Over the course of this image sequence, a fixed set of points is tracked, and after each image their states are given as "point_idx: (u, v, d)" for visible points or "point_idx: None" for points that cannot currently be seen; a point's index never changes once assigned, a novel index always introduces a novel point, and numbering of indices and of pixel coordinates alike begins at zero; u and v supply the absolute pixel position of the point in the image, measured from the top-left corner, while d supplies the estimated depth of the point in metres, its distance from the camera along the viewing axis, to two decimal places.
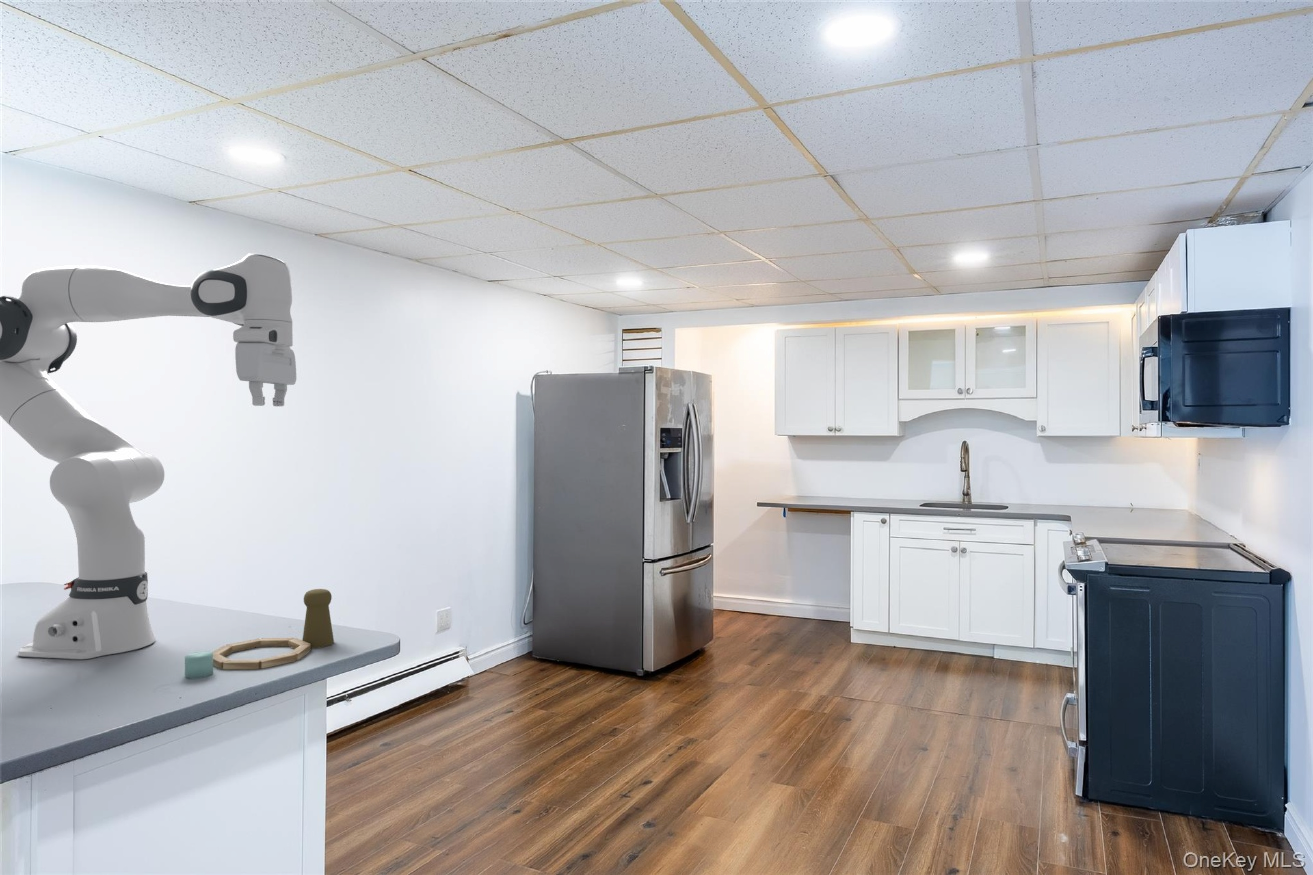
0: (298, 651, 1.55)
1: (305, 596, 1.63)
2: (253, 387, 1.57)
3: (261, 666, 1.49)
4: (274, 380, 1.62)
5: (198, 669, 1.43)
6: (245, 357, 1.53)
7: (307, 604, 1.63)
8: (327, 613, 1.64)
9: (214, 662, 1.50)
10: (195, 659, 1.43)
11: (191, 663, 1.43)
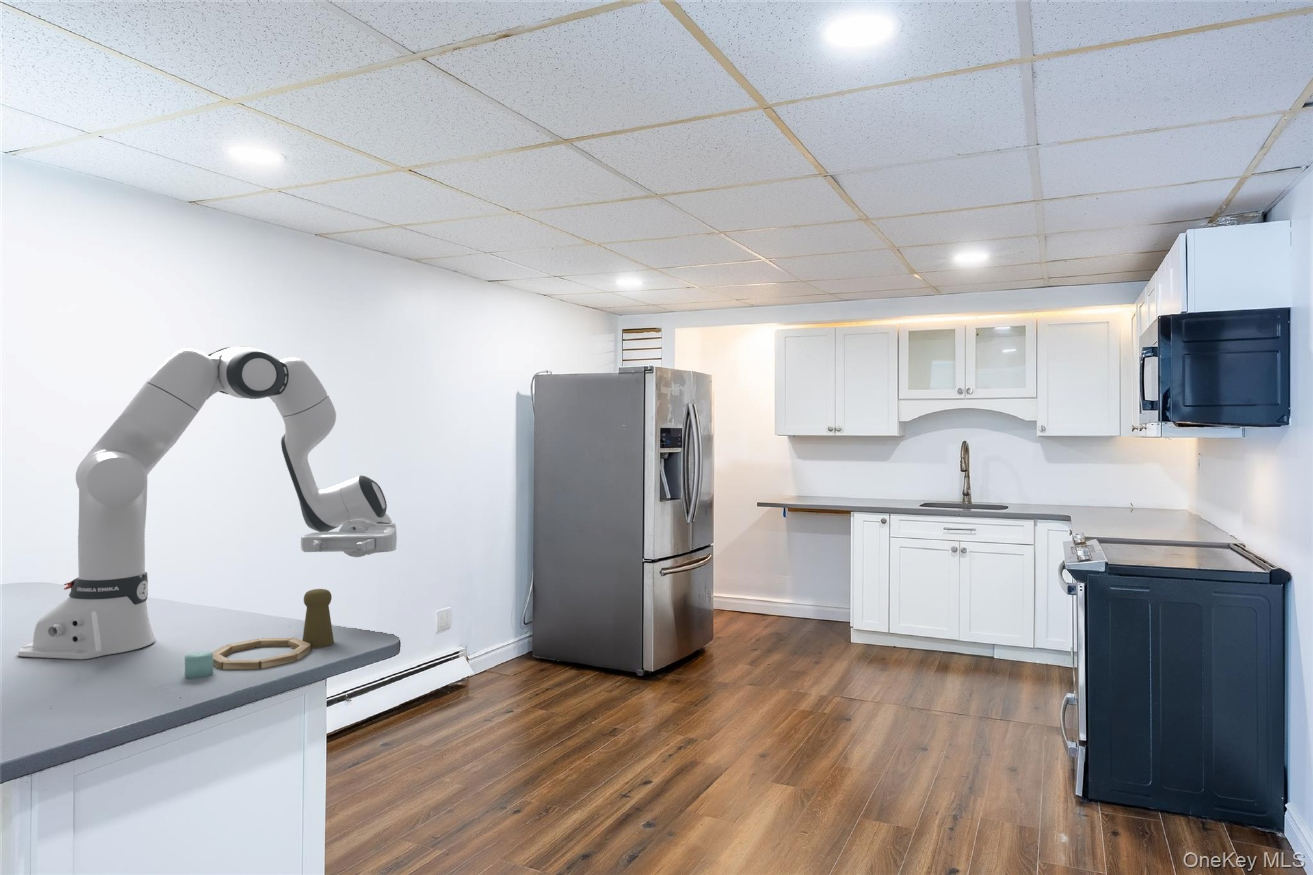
0: (298, 651, 1.55)
1: (305, 596, 1.63)
2: (373, 543, 1.80)
3: (261, 666, 1.49)
4: (353, 551, 1.82)
5: (198, 669, 1.43)
6: (395, 538, 1.86)
7: (307, 604, 1.63)
8: (327, 613, 1.64)
9: (214, 662, 1.50)
10: (195, 659, 1.43)
11: (191, 663, 1.43)
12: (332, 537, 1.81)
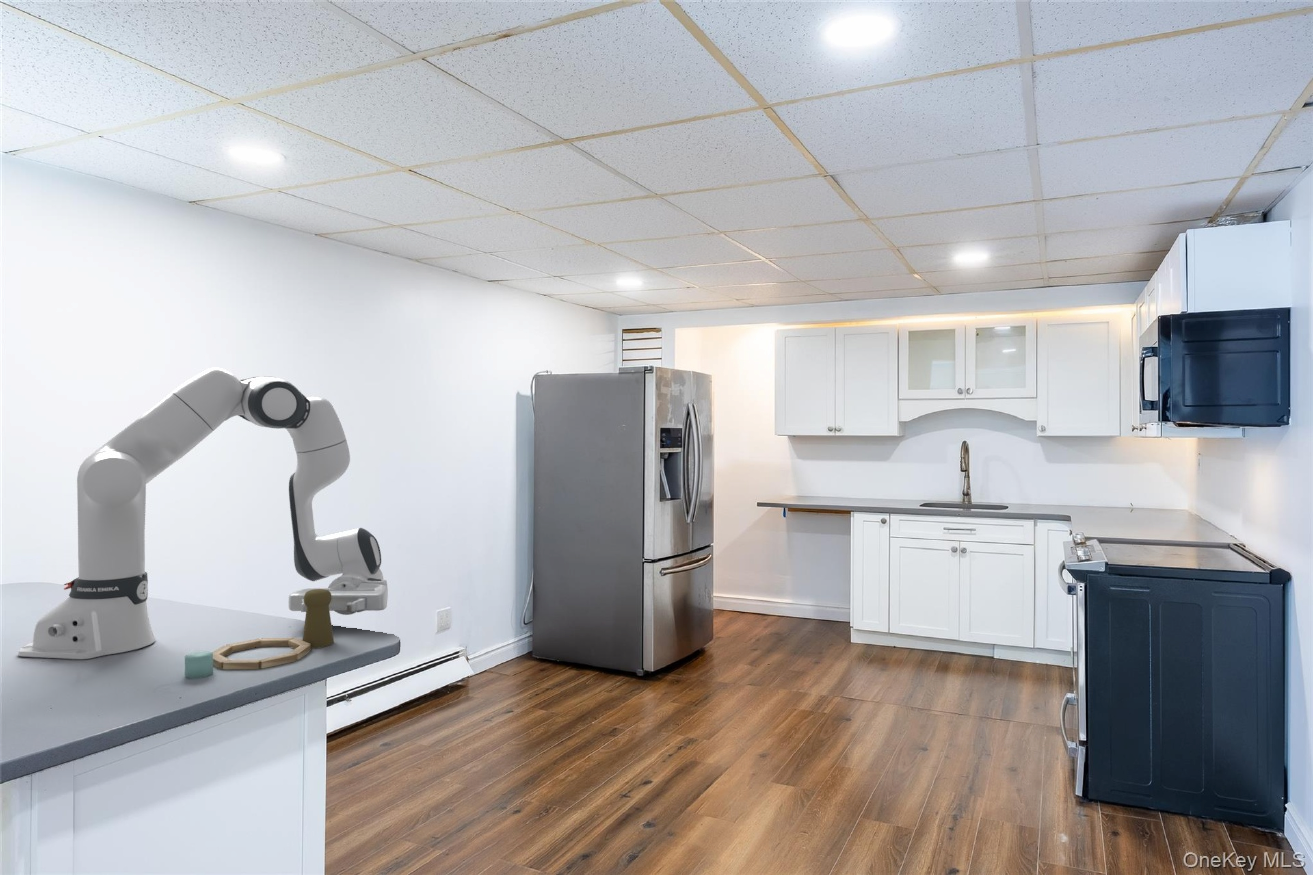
0: (298, 651, 1.55)
1: (305, 596, 1.63)
2: (363, 603, 1.75)
3: (261, 666, 1.49)
4: (342, 610, 1.76)
5: (198, 669, 1.43)
6: (386, 597, 1.80)
7: (307, 604, 1.63)
8: (327, 613, 1.64)
9: (214, 662, 1.50)
10: (195, 659, 1.43)
11: (192, 663, 1.43)
12: None
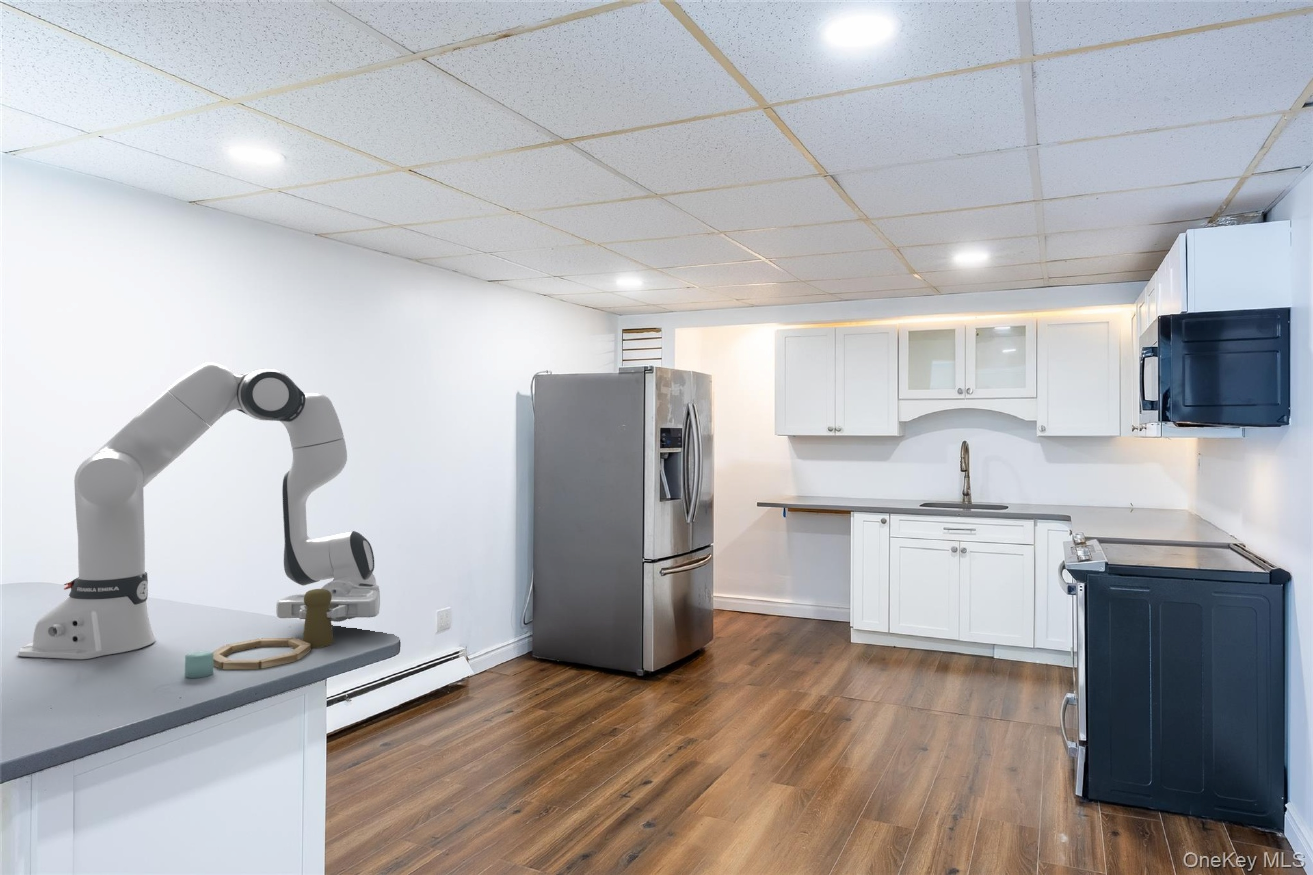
0: (298, 651, 1.55)
1: (305, 596, 1.63)
2: (344, 609, 1.68)
3: (261, 666, 1.49)
4: None
5: (199, 668, 1.43)
6: (378, 603, 1.73)
7: (307, 604, 1.63)
8: None
9: (214, 662, 1.50)
10: (197, 658, 1.43)
11: (193, 662, 1.43)
12: None
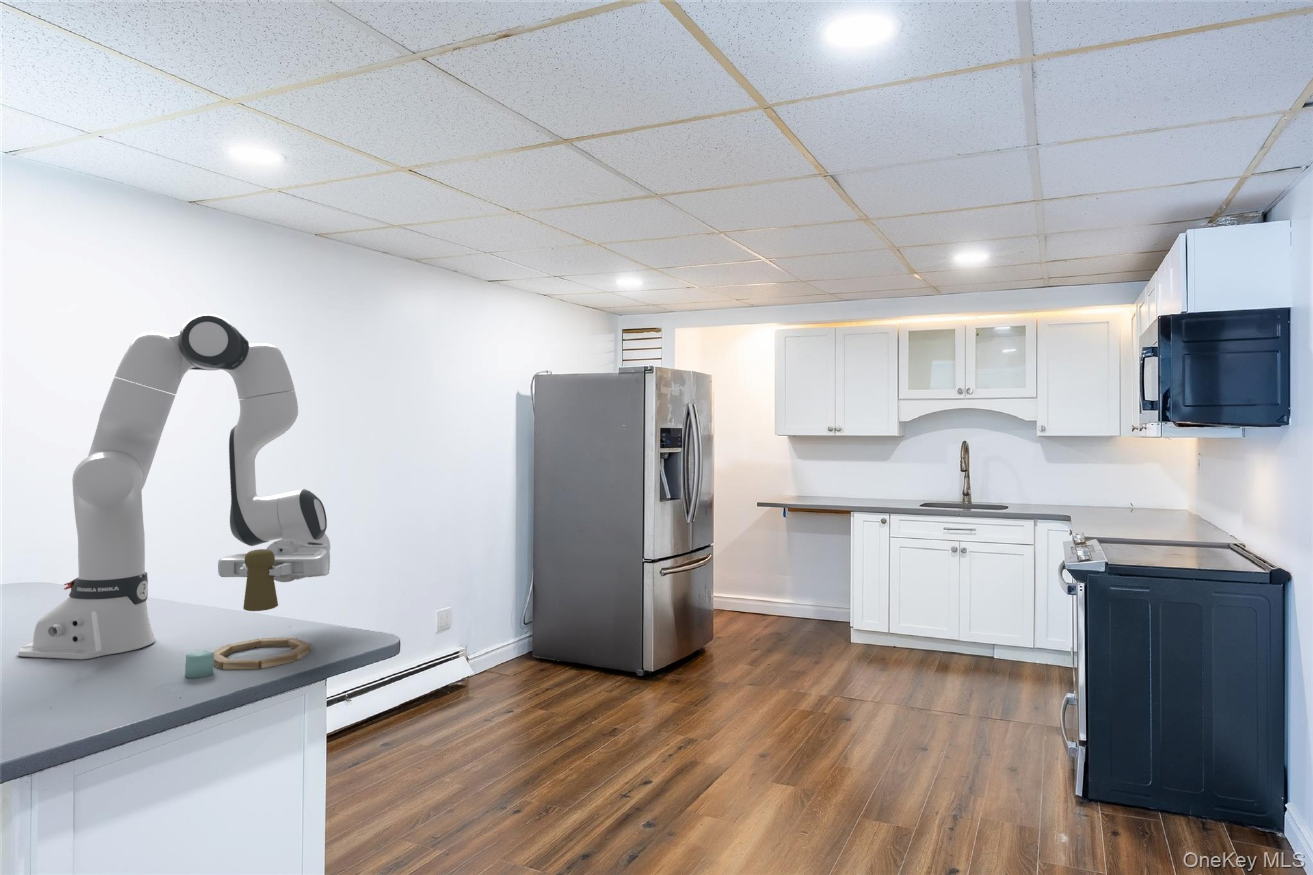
0: (298, 651, 1.55)
1: (245, 557, 1.54)
2: (289, 567, 1.59)
3: (261, 666, 1.49)
4: None
5: (203, 668, 1.44)
6: (327, 562, 1.65)
7: (247, 565, 1.54)
8: None
9: (214, 662, 1.50)
10: (200, 658, 1.43)
11: (196, 663, 1.43)
12: None
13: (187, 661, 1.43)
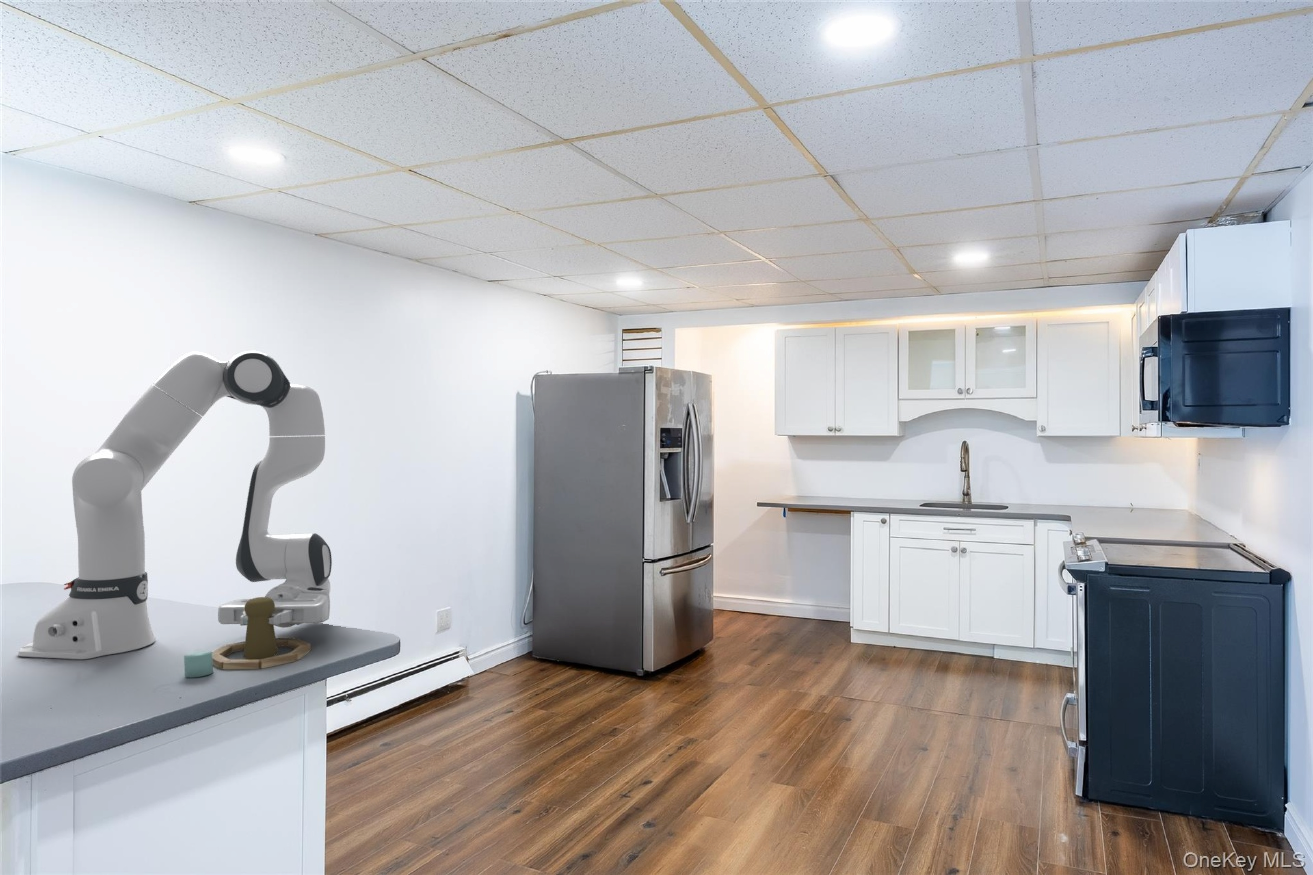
0: (298, 651, 1.55)
1: (246, 605, 1.55)
2: (289, 615, 1.59)
3: (261, 666, 1.49)
4: None
5: (205, 666, 1.44)
6: (327, 608, 1.65)
7: (247, 614, 1.54)
8: None
9: (214, 662, 1.50)
10: (202, 656, 1.44)
11: (198, 661, 1.43)
12: None
13: (188, 661, 1.43)
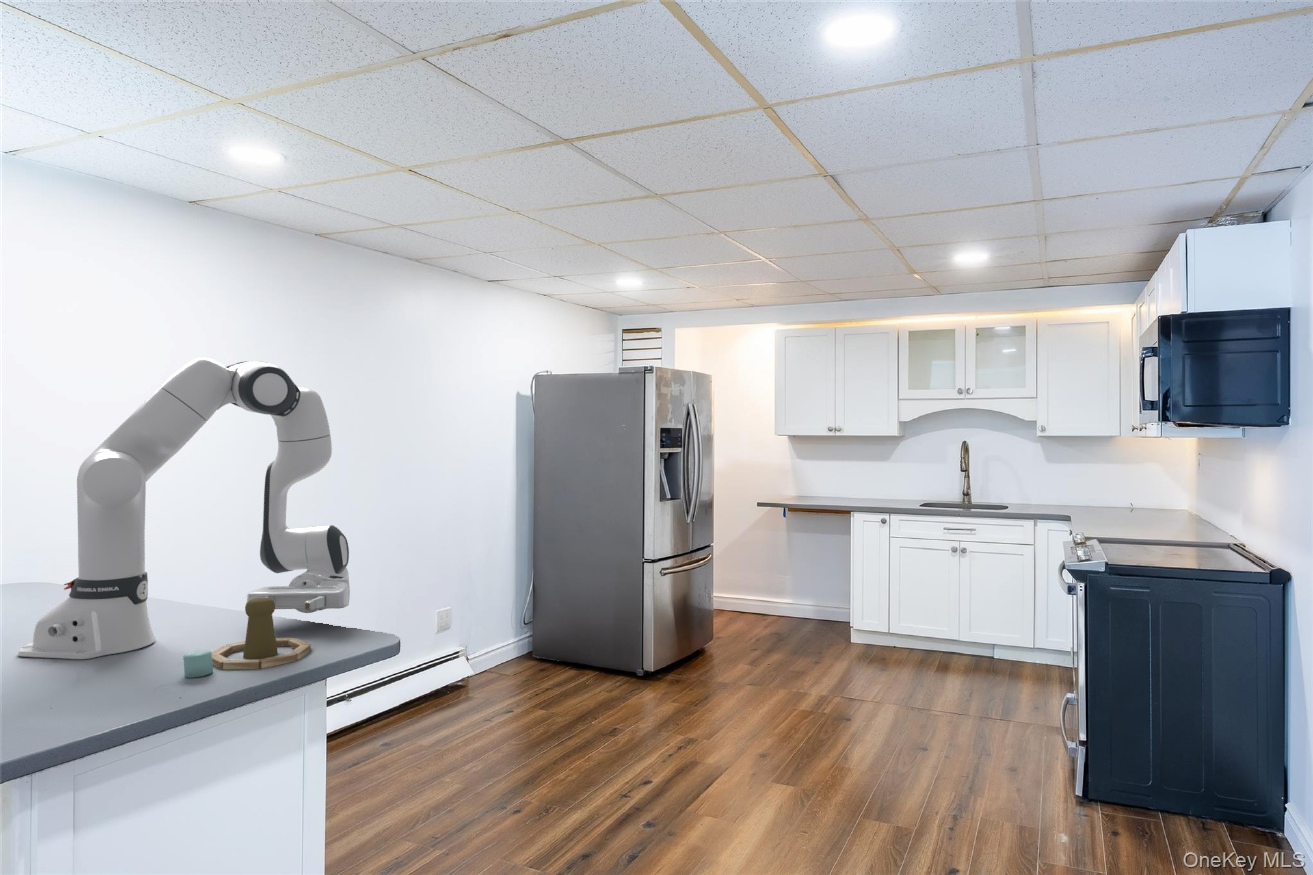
0: (298, 651, 1.55)
1: (246, 605, 1.55)
2: (323, 601, 1.72)
3: (261, 666, 1.49)
4: (302, 608, 1.73)
5: (209, 664, 1.45)
6: (347, 595, 1.77)
7: (248, 613, 1.55)
8: (270, 623, 1.56)
9: (214, 662, 1.50)
10: (207, 655, 1.45)
11: (204, 660, 1.44)
12: (280, 594, 1.73)
13: (192, 661, 1.43)
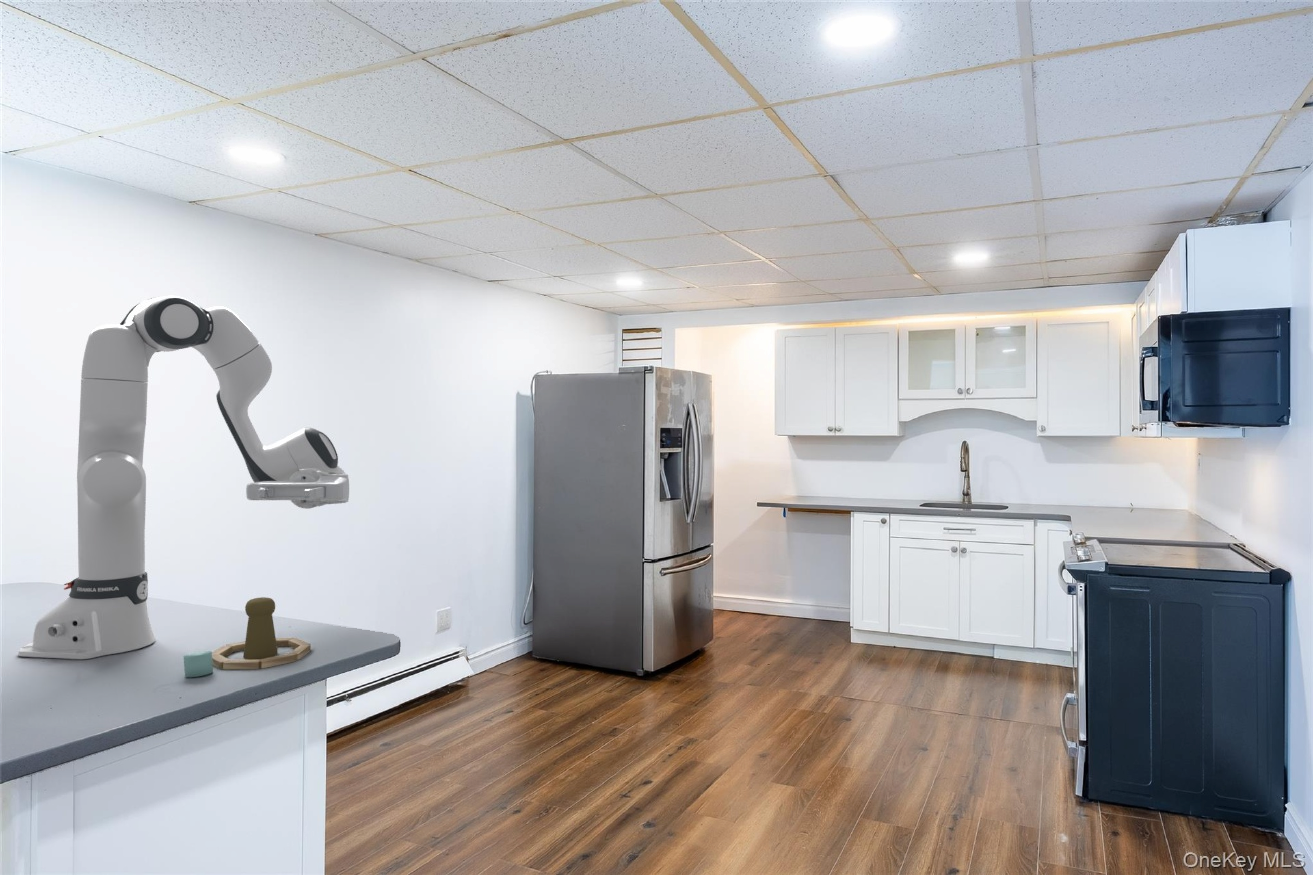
0: (298, 651, 1.55)
1: (246, 605, 1.55)
2: (322, 491, 1.72)
3: (261, 666, 1.49)
4: (301, 499, 1.73)
5: (212, 662, 1.46)
6: (347, 488, 1.77)
7: (248, 613, 1.55)
8: (270, 623, 1.56)
9: (214, 662, 1.50)
10: (211, 653, 1.46)
11: (210, 657, 1.45)
12: (279, 485, 1.72)
13: (201, 659, 1.44)
